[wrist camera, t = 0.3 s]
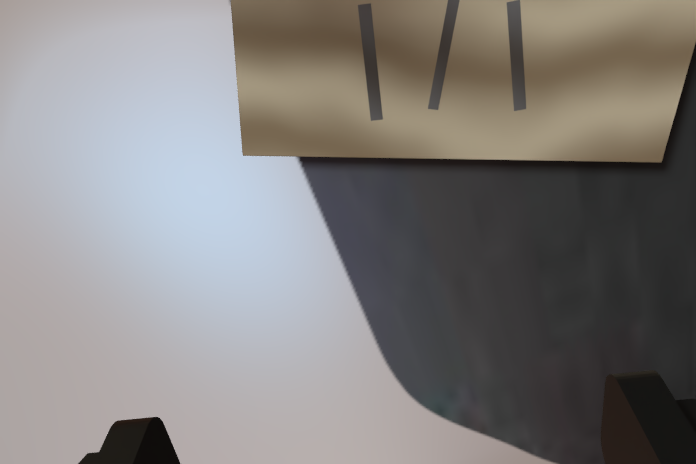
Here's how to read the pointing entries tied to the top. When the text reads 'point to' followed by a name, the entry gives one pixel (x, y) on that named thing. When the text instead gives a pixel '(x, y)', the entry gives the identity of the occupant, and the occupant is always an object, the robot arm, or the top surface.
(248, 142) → the board
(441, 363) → the top surface
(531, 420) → the top surface
